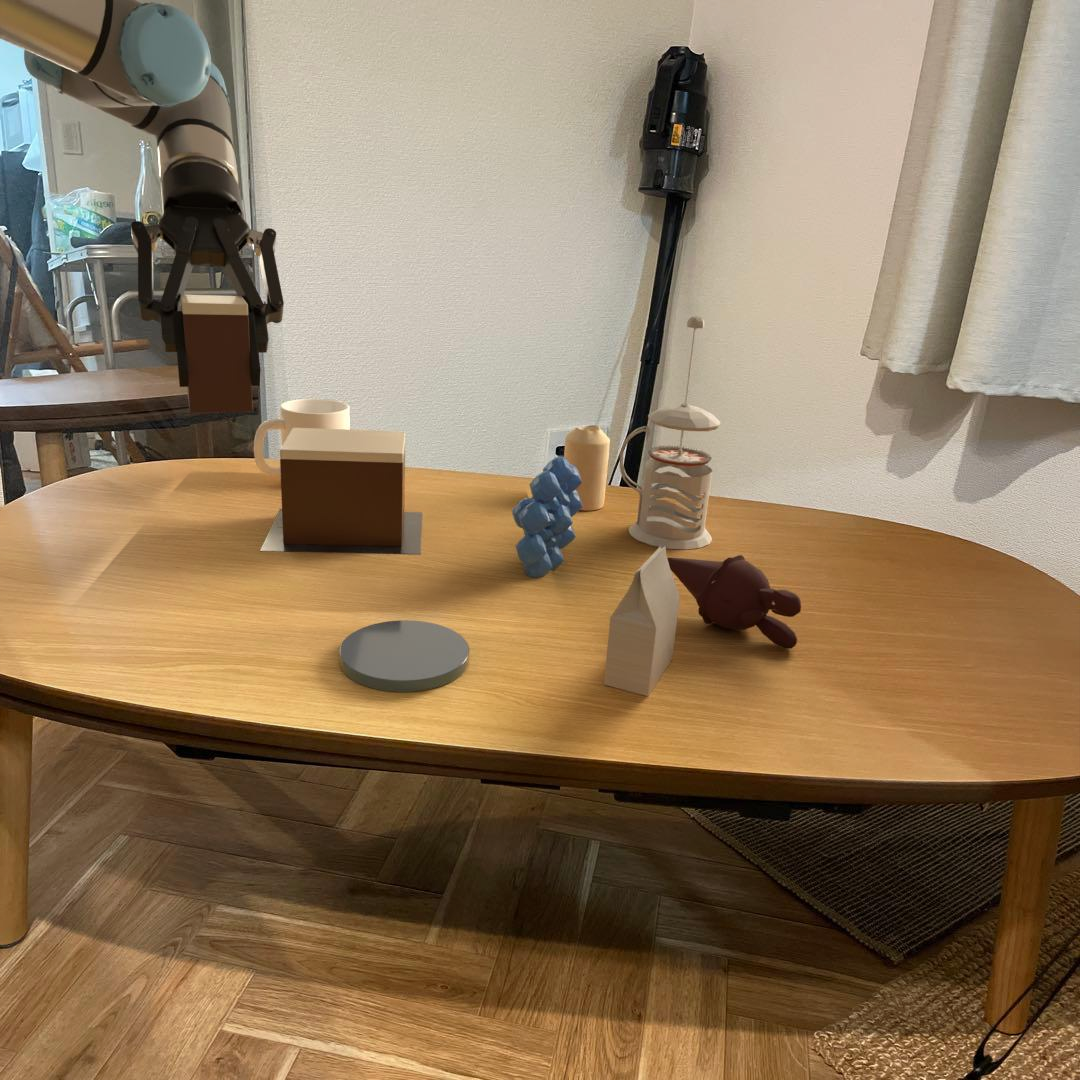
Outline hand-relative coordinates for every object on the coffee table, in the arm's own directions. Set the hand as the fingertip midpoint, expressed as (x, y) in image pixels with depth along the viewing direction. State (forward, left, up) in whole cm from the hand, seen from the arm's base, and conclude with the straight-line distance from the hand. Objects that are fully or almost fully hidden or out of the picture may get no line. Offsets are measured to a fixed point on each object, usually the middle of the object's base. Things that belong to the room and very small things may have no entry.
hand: (220, 377), depth 83 cm
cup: (+4, +25, -18) cm, 31 cm away
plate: (+18, -20, -18) cm, 33 cm away
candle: (+39, +21, -18) cm, 48 cm away
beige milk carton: (+37, -22, -18) cm, 47 cm away
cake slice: (-1, +4, -3) cm, 5 cm away
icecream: (+47, -13, -18) cm, 52 cm away
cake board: (+11, +7, -18) cm, 22 cm away
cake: (+11, +7, -17) cm, 21 cm away
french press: (+47, +11, -18) cm, 51 cm away
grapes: (+31, -1, -19) cm, 36 cm away
